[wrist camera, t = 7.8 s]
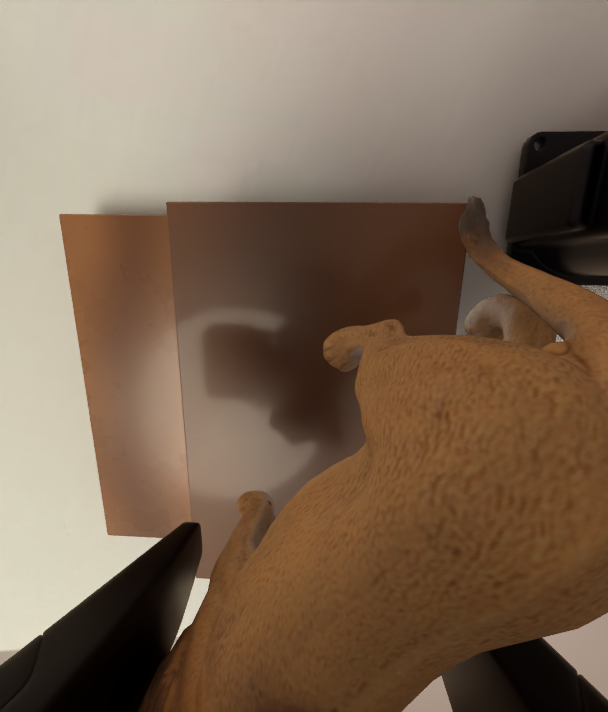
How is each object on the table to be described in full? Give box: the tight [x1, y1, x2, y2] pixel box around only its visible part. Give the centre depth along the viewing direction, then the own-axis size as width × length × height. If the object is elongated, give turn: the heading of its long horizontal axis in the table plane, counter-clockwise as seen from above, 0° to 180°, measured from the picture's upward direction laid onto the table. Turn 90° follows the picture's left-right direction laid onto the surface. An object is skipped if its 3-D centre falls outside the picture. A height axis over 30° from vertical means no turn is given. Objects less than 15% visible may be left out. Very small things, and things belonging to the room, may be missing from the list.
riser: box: [59, 202, 467, 579], centre depth 16 cm, size 17×17×4 cm
